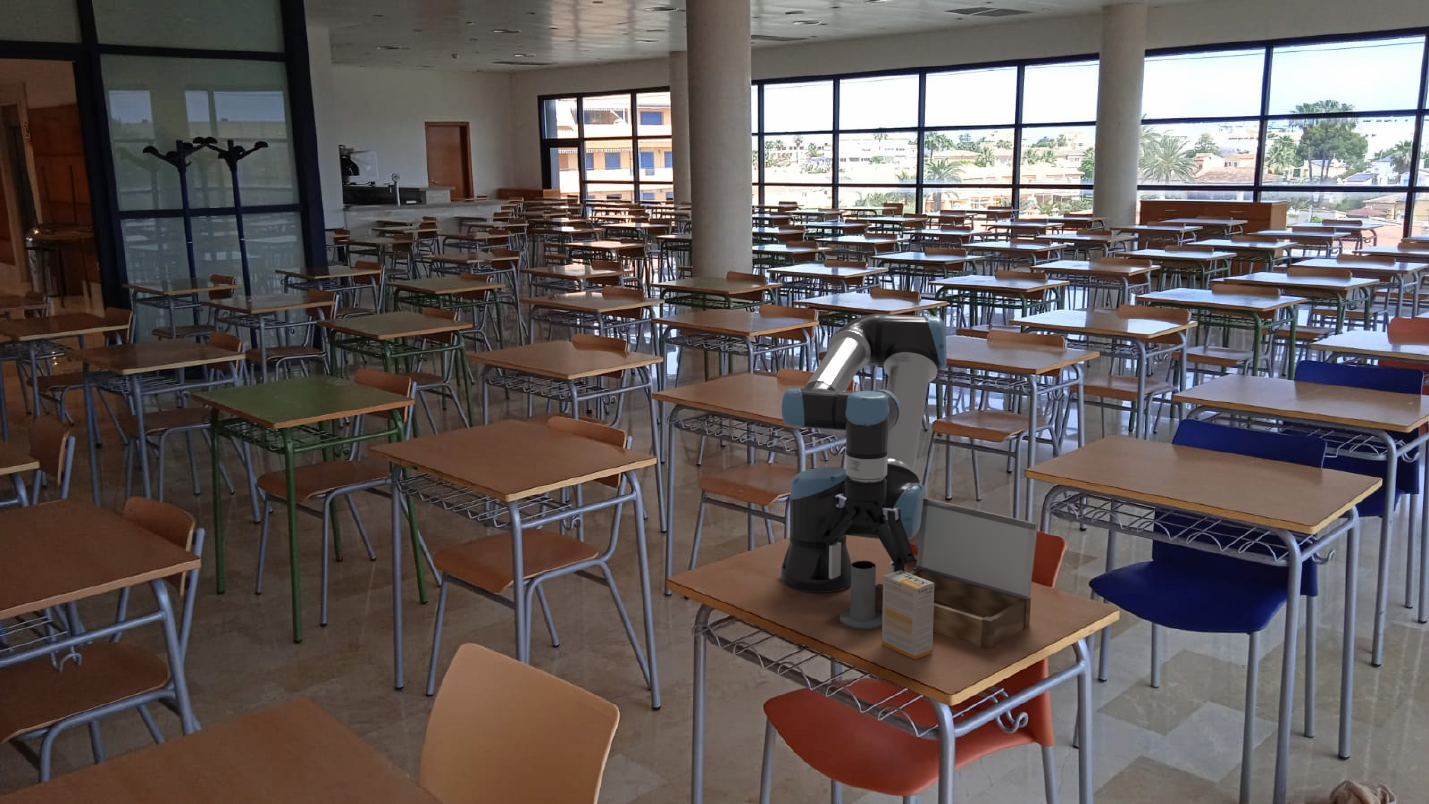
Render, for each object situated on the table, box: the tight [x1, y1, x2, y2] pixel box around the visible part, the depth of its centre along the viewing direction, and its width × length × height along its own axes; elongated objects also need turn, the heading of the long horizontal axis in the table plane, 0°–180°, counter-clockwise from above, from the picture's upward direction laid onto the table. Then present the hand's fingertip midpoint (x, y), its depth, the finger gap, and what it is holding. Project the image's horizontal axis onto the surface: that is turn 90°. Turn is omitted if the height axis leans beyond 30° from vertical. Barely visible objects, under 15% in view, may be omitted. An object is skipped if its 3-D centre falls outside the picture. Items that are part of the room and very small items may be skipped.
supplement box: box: [881, 570, 935, 660], centre depth 183 cm, size 8×5×13 cm, turn 35°
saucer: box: [839, 608, 883, 631], centre depth 197 cm, size 8×8×1 cm
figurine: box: [909, 524, 921, 561], centre depth 230 cm, size 9×7×12 cm
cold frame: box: [875, 567, 1032, 651], centre depth 197 cm, size 25×15×5 cm, turn 46°
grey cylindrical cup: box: [849, 560, 877, 621], centre depth 196 cm, size 4×4×10 cm
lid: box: [914, 497, 1039, 600], centre depth 200 cm, size 24×14×1 cm
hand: (863, 586), depth 196 cm, fingers open, 13 cm apart
